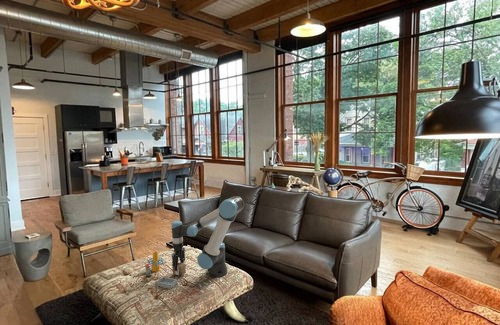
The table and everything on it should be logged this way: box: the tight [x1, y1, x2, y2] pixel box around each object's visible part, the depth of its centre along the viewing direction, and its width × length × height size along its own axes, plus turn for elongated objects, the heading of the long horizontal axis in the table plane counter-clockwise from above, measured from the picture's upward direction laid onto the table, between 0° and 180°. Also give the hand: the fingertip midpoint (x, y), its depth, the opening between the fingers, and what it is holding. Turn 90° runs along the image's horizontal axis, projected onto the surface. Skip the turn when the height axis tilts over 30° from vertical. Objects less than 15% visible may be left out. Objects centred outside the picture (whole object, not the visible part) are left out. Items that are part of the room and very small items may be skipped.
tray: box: [155, 276, 179, 290], centre depth 203 cm, size 12×8×3 cm, turn 68°
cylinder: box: [147, 250, 164, 273], centre depth 225 cm, size 12×10×15 cm
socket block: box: [141, 273, 155, 283], centre depth 211 cm, size 6×6×2 cm
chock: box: [171, 262, 187, 277], centre depth 217 cm, size 8×5×7 cm, turn 68°
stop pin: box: [144, 263, 152, 278], centre depth 210 cm, size 4×4×11 cm
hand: (179, 272), depth 217 cm, fingers closed on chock, 5 cm apart
